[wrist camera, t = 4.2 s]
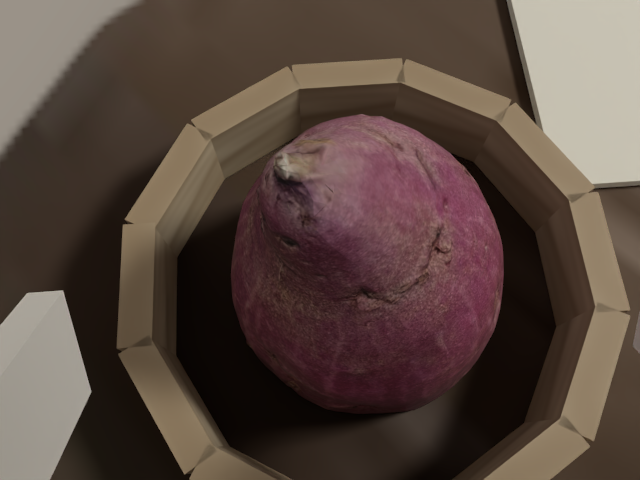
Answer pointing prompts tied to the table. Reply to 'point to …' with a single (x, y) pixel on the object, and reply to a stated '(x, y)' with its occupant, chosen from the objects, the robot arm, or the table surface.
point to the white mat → (585, 81)
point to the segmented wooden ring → (457, 138)
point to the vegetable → (366, 267)
